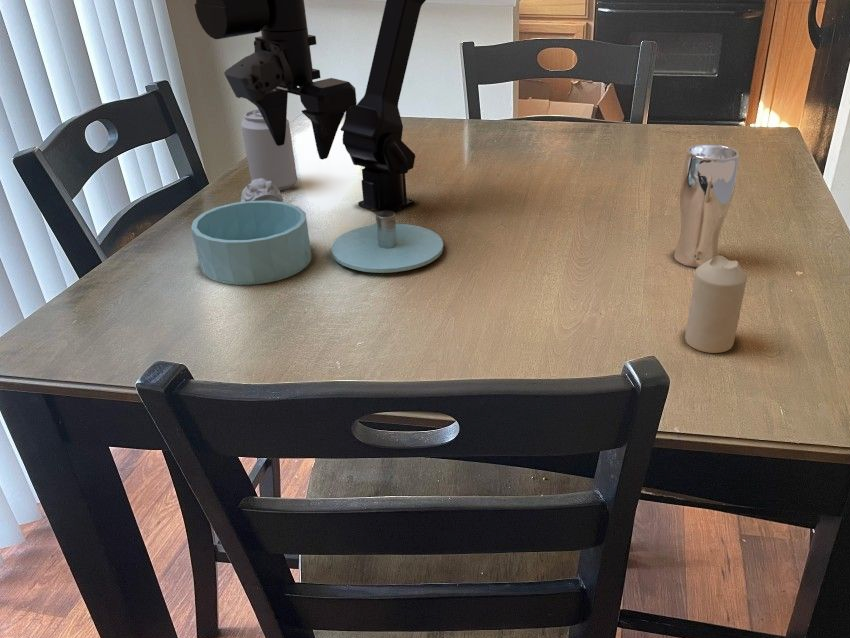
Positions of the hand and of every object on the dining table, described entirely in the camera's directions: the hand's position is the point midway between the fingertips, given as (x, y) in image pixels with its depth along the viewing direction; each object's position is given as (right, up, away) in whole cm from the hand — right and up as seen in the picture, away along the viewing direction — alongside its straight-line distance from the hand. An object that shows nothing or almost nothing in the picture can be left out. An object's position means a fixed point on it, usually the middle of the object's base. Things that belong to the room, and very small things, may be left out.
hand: (301, 151), depth 105 cm
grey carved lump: (-8, -8, +10) cm, 15 cm away
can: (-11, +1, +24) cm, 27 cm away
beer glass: (+55, -15, +2) cm, 56 cm away
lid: (+12, -13, +2) cm, 17 cm away
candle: (+52, -27, -17) cm, 61 cm away
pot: (-6, -15, -1) cm, 16 cm away
